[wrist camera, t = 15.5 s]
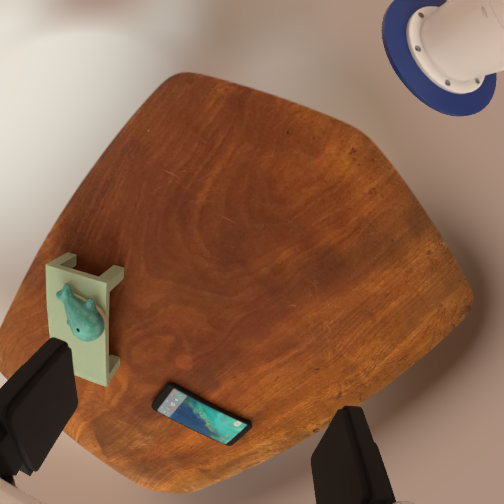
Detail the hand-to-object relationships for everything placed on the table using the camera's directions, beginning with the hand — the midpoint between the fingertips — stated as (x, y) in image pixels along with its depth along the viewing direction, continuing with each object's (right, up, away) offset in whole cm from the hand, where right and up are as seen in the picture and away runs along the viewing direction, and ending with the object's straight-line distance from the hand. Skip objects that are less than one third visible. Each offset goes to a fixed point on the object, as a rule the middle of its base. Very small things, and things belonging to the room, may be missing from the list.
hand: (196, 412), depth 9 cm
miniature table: (-20, -3, +31) cm, 37 cm away
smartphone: (-6, -20, +35) cm, 41 cm away
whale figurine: (-18, -1, +25) cm, 31 cm away
